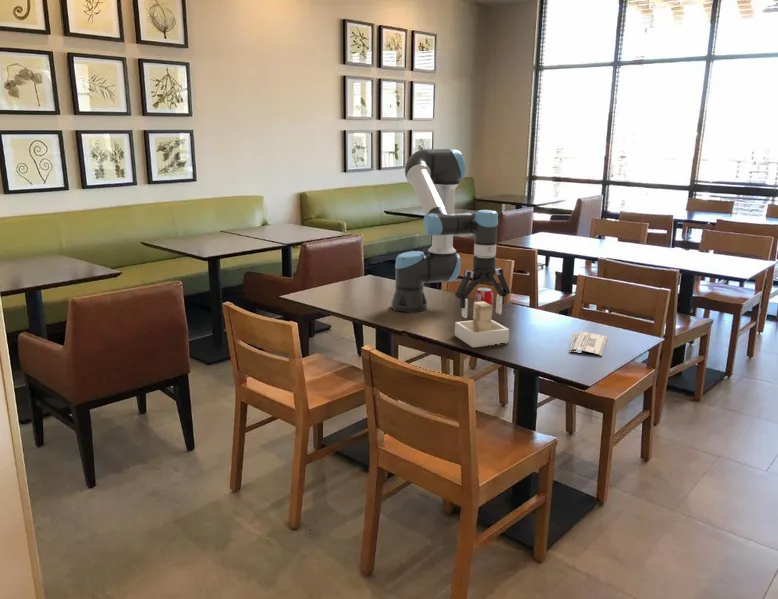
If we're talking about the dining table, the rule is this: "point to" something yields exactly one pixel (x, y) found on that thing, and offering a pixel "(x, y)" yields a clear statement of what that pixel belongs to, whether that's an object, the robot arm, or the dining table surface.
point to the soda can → (484, 295)
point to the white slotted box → (481, 334)
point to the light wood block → (482, 316)
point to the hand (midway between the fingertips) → (481, 315)
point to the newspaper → (588, 342)
